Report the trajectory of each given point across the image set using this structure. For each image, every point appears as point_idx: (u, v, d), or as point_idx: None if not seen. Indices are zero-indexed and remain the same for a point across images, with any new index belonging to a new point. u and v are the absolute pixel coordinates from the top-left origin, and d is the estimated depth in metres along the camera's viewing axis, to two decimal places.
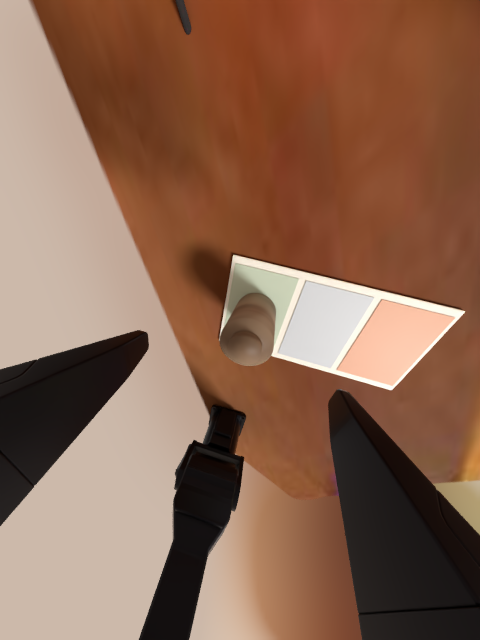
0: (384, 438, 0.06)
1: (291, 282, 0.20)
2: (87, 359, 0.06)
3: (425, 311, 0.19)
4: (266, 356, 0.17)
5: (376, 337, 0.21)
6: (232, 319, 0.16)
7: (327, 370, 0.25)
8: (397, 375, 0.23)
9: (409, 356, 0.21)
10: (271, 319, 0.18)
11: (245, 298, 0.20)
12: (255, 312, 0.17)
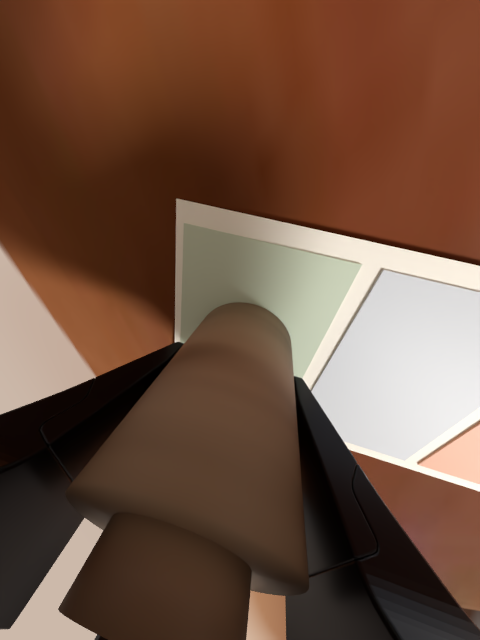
0: (322, 418, 0.06)
1: (337, 275, 0.07)
2: (141, 376, 0.06)
3: None
4: (272, 591, 0.04)
5: None
6: (116, 437, 0.04)
7: (395, 461, 0.12)
8: None
9: None
10: (287, 403, 0.05)
11: (212, 318, 0.08)
12: (226, 397, 0.04)
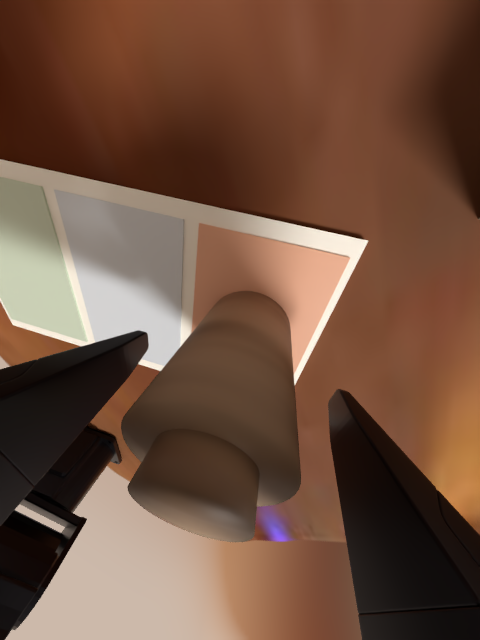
0: (384, 438, 0.06)
1: (36, 197, 0.10)
2: (87, 359, 0.06)
3: (287, 247, 0.08)
4: (273, 498, 0.05)
5: None
6: (159, 379, 0.05)
7: None
8: None
9: None
10: (286, 366, 0.06)
11: (222, 303, 0.09)
12: (239, 354, 0.05)
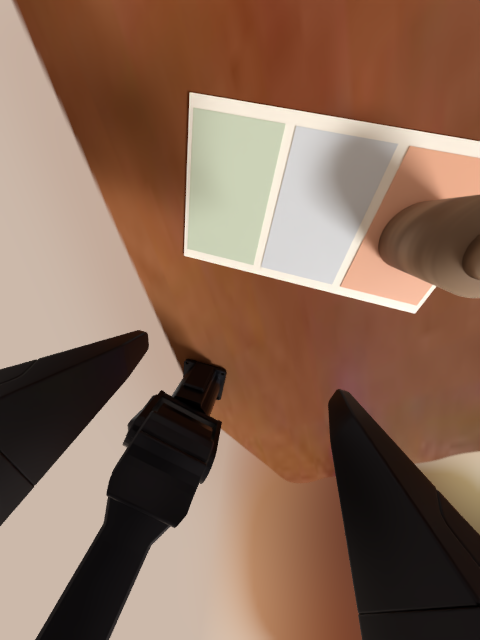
0: (384, 438, 0.06)
1: (274, 133, 0.14)
2: (87, 359, 0.06)
3: (475, 160, 0.12)
4: None
5: None
6: None
7: (327, 288, 0.18)
8: (424, 287, 0.16)
9: None
10: None
11: (426, 202, 0.13)
12: None
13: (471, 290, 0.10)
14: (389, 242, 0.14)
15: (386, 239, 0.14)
